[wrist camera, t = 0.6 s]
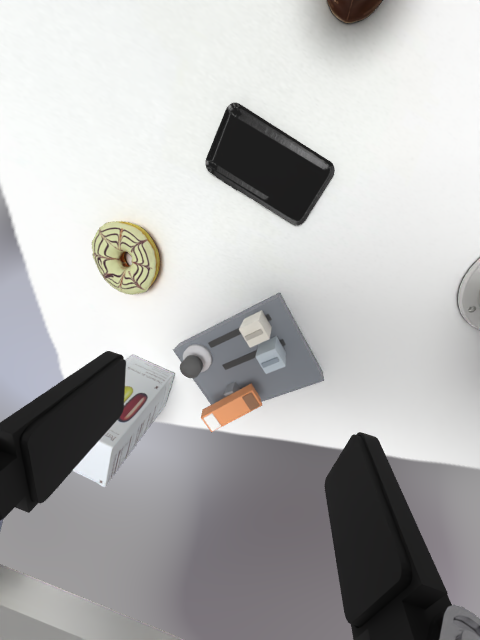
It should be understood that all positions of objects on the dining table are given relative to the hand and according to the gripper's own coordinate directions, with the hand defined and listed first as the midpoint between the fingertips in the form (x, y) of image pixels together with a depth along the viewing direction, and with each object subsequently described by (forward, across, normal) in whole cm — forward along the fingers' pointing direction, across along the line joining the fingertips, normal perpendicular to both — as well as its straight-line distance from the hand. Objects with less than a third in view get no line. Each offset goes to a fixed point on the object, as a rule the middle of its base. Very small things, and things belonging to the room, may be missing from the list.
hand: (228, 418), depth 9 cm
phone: (+28, +4, -14) cm, 31 cm away
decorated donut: (+28, +22, +2) cm, 36 cm away
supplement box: (+28, +17, +26) cm, 42 cm away
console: (+27, 0, +14) cm, 30 cm away
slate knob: (+24, -3, +9) cm, 26 cm away
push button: (+23, +8, +15) cm, 28 cm away
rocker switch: (+22, 0, +19) cm, 29 cm away
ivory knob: (+24, 0, +6) cm, 25 cm away
